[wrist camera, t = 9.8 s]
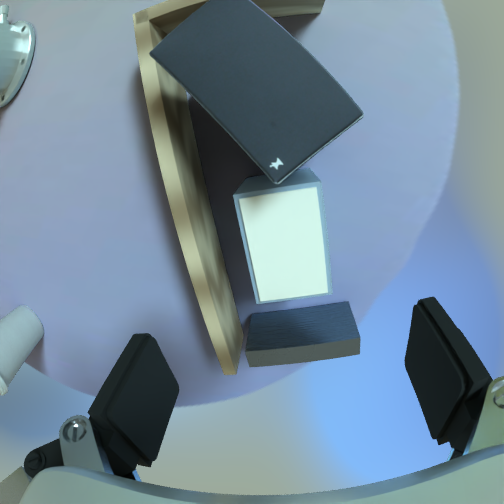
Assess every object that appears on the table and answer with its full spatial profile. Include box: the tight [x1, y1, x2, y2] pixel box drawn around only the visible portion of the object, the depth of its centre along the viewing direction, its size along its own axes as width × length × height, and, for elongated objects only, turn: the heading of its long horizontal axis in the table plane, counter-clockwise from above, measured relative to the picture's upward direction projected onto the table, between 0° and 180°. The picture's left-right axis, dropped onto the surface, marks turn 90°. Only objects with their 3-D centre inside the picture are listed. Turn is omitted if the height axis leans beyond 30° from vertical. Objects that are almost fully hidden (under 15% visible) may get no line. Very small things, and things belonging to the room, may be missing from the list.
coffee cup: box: [0, 305, 44, 395], centre depth 29 cm, size 10×10×15 cm
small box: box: [149, 0, 364, 184], centre depth 17 cm, size 11×6×10 cm, turn 42°
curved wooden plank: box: [133, 0, 325, 375], centre depth 21 cm, size 32×14×6 cm, turn 11°
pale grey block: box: [233, 168, 333, 304], centre depth 22 cm, size 8×6×8 cm
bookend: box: [245, 302, 360, 367], centre depth 26 cm, size 2×10×6 cm, turn 101°
